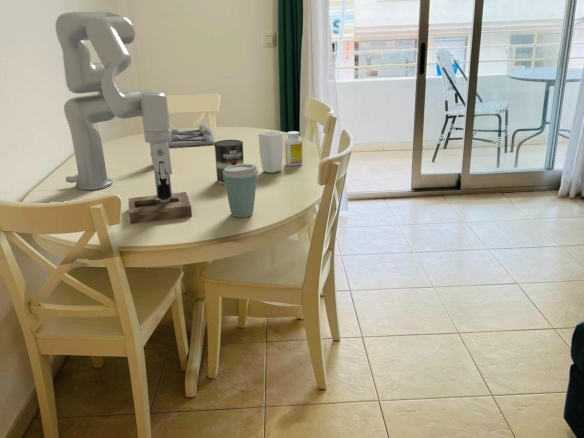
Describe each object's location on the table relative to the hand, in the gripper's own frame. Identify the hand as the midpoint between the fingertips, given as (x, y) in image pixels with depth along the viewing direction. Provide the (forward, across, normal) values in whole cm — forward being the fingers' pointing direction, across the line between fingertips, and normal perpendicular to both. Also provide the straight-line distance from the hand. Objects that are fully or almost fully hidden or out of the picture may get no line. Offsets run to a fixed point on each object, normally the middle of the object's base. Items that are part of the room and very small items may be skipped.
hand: (164, 193), depth 165 cm
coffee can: (+6, +26, -25) cm, 37 cm away
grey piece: (+7, +101, -19) cm, 103 cm away
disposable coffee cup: (+6, -10, -22) cm, 25 cm away
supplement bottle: (+6, +39, -53) cm, 66 cm away
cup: (+6, +32, -42) cm, 53 cm away
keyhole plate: (+6, 0, +2) cm, 6 cm away
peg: (+5, 0, 0) cm, 5 cm away
